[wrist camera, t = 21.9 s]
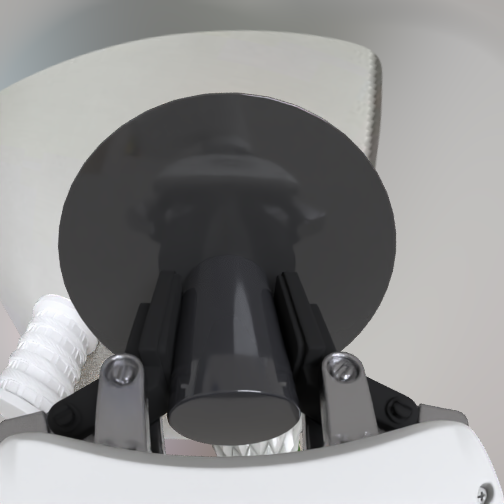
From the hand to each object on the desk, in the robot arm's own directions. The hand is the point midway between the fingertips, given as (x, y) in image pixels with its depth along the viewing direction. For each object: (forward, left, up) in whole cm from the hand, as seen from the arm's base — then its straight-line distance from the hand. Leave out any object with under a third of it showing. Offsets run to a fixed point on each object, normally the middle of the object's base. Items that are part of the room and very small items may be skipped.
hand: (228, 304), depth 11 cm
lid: (0, 0, -1) cm, 1 cm away
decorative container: (+21, -24, -19) cm, 37 cm away
